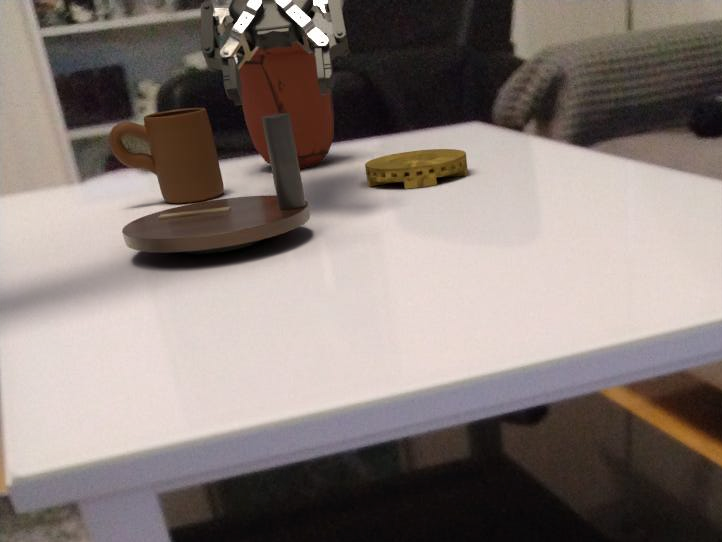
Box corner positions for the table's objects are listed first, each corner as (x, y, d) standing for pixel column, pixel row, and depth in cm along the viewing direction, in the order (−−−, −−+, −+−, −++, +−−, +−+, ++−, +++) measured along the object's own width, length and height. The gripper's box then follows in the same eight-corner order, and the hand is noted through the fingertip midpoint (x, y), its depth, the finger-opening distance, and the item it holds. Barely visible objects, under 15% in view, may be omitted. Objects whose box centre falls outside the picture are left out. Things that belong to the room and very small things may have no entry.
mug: (127, 213, 121) (103, 125, 116) (126, 203, 127) (103, 119, 122) (228, 197, 123) (209, 110, 118) (222, 188, 129) (204, 105, 124)
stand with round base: (107, 249, 103) (74, 134, 98) (269, 214, 111) (248, 105, 105) (164, 279, 90) (130, 148, 85) (344, 236, 98) (324, 113, 92)
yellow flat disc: (415, 166, 129) (413, 148, 127) (488, 170, 122) (486, 150, 121) (347, 186, 121) (344, 167, 120) (420, 191, 115) (417, 170, 113)
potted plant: (262, 161, 145) (201, -148, 126) (369, 150, 144) (325, -163, 124) (232, 185, 131) (158, -160, 111) (351, 173, 129) (298, -178, 110)
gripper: (185, -70, 99) (197, 74, 96) (330, -87, 99) (347, 56, 96) (207, -7, 107) (218, 129, 104) (342, -23, 107) (357, 112, 104)
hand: (280, 94), depth 100 cm, fingers open, 8 cm apart
